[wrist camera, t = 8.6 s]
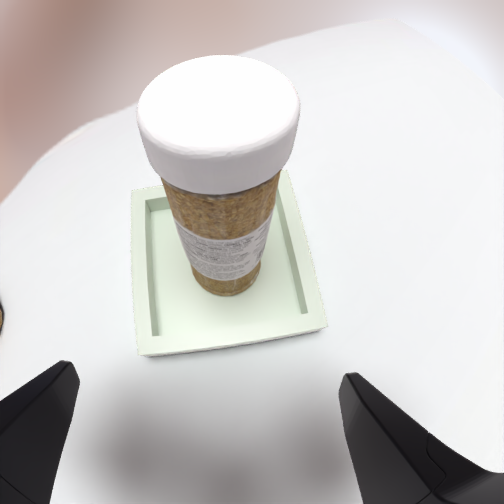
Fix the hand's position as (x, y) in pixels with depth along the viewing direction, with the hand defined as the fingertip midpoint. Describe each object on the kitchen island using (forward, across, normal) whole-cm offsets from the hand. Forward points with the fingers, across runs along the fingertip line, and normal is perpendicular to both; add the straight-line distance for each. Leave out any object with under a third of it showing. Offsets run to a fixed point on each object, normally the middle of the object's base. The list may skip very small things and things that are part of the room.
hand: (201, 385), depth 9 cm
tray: (+12, 0, +1) cm, 12 cm away
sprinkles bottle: (+12, 0, +1) cm, 12 cm away
